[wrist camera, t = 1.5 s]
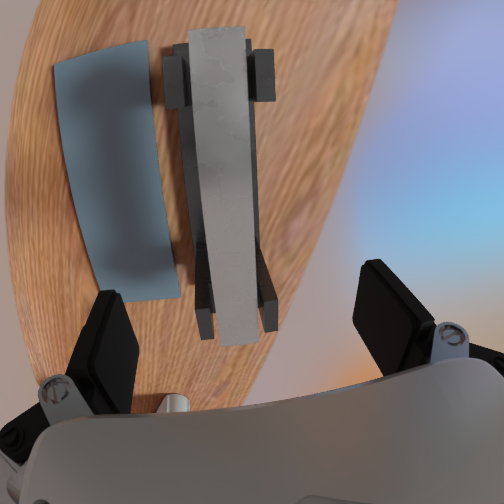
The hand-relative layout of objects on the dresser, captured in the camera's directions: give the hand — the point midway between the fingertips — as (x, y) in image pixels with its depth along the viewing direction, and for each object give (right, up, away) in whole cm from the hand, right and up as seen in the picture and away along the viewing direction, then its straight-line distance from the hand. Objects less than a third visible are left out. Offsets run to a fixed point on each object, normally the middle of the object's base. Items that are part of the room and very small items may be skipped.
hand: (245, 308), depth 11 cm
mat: (-13, +8, +15) cm, 21 cm away
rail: (-2, +6, +9) cm, 11 cm away
